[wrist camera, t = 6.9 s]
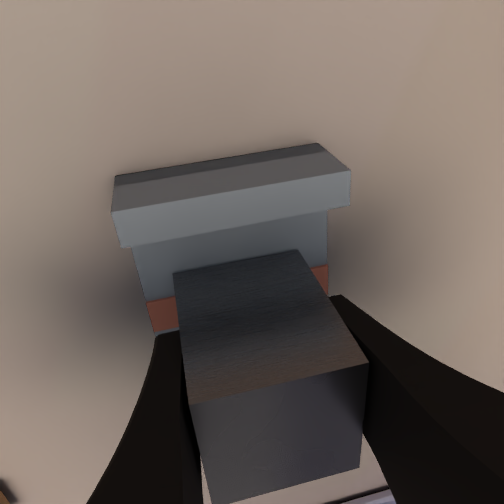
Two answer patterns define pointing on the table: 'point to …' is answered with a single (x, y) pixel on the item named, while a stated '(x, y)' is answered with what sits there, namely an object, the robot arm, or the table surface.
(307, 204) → the seat
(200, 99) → the table surface
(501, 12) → the table surface
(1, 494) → the sprocket
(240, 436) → the dark grey block
